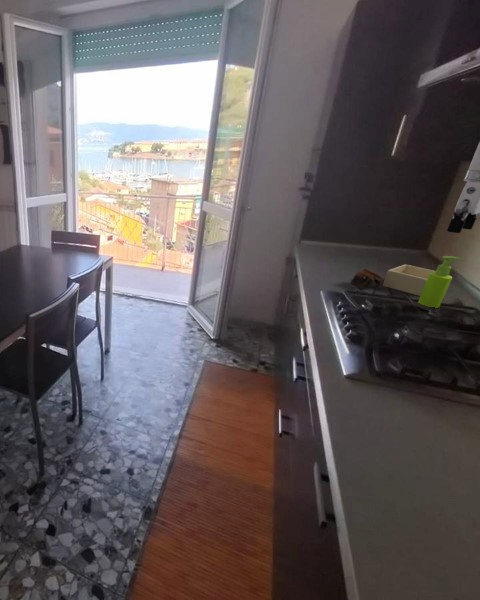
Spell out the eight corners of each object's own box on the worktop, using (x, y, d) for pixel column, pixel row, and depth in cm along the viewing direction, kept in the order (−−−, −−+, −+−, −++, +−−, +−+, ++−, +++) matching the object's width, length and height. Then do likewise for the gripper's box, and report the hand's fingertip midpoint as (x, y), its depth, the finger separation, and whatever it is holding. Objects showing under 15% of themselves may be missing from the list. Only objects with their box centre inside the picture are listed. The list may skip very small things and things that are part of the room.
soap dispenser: (444, 313, 127) (468, 260, 119) (420, 310, 130) (442, 258, 121) (436, 307, 132) (459, 255, 124) (413, 304, 135) (434, 253, 126)
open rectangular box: (438, 289, 148) (445, 273, 145) (422, 296, 141) (429, 280, 138) (399, 279, 159) (405, 264, 156) (382, 285, 152) (387, 270, 149)
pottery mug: (345, 281, 158) (359, 266, 155) (365, 294, 155) (380, 278, 153) (353, 284, 147) (369, 267, 144) (375, 297, 144) (391, 281, 142)
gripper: (489, 179, 105) (464, 236, 112) (508, 176, 113) (484, 229, 120) (455, 177, 111) (433, 231, 118) (476, 174, 119) (454, 225, 126)
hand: (459, 230), depth 119 cm, fingers open, 9 cm apart
